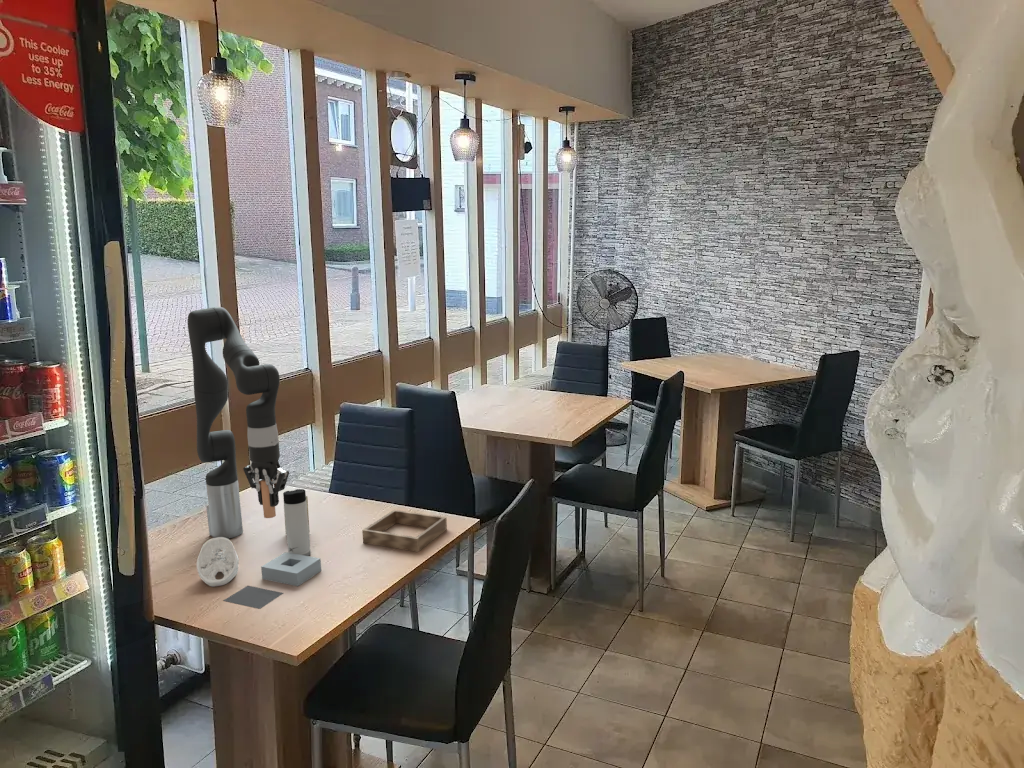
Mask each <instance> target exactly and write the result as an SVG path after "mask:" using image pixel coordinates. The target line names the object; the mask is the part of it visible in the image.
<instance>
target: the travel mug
mask: <svg viewBox="0 0 1024 768" xmlns="http://www.w3.org/2000/svg"><path fill="white" fill-rule="evenodd" d="M282 495H283V496H282V497H283V498H284V499H283V509H284V510H283V512H284V511H285V515H284V523H285V522H286V530H285V534H286V533H287V534H286V542H287V552H288V553H293V554H299V555H304V556H310V555H311V554H312V552H311V542H310V541H311V540H310V526H309V527H308V515H309V514H308V515H307V503H306V496H307V494H306V489H304V488H299V489H298V488H297V489H296V488H295V489H294V490H286V491H284V492H283V493H282Z"/></svg>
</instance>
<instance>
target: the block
mask: <svg viewBox="0 0 1024 768" xmlns="http://www.w3.org/2000/svg"><path fill="white" fill-rule="evenodd" d="M260 568H261V579H262V580H264V581H265V580H266V581H269V582H275V583H280V584H285V585H289V586H294V587H295V586H296V587H299V586H300V585H303V583H305V582H307V581H308V580H310V579H311V578H312V577H315V576H316V575H317V574H319V573H320V572H321V571H322V562H321V558H320V557H315V556H310V555H309V556H304V555H299V554H293V553H288V551H287V552H283V553H281V554H280V555H278V556H276V557H274V558H273V559H271V560H270V561H268V562H266V563H265V564H263V565H261V566H260Z"/></svg>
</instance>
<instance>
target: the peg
mask: <svg viewBox="0 0 1024 768" xmlns="http://www.w3.org/2000/svg"><path fill="white" fill-rule="evenodd" d="M272 480H273V479H272ZM272 480H270V481H272ZM261 491H262V501H263V505H262V511H263V518H264V519H273V518H275V517H276V515H277V514H276V506H275V507H271V506H270V497H269V494H270V492H269V487H268V486H267V485H266V481H265V480H261Z"/></svg>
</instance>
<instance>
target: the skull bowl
mask: <svg viewBox="0 0 1024 768" xmlns="http://www.w3.org/2000/svg"><path fill="white" fill-rule="evenodd" d="M239 561H240V559H239V556H238V553H237V551H236V548H235V546H234V544H233V542H232V540H230V538H228V539H227V538H224V537H218V538H213V537H212V538H210V539H208V540H207V541H206V542H204V543H203V545H202V546H201V549H200V552H199V553H198V556H197V559H196V563H195V564H196V571H197V574H198V577H199V578H200V579H201V580H202V581H203V583H205V584H206V585H207V586H209V587H221V586H224V585H227V584H228V583H229V582H230V581H232V580H233V579H234V577H235V576H237V574H238V571H239ZM218 573H222V575H223V577H222V578H220V579H217V578H216V576H217V574H218Z"/></svg>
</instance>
